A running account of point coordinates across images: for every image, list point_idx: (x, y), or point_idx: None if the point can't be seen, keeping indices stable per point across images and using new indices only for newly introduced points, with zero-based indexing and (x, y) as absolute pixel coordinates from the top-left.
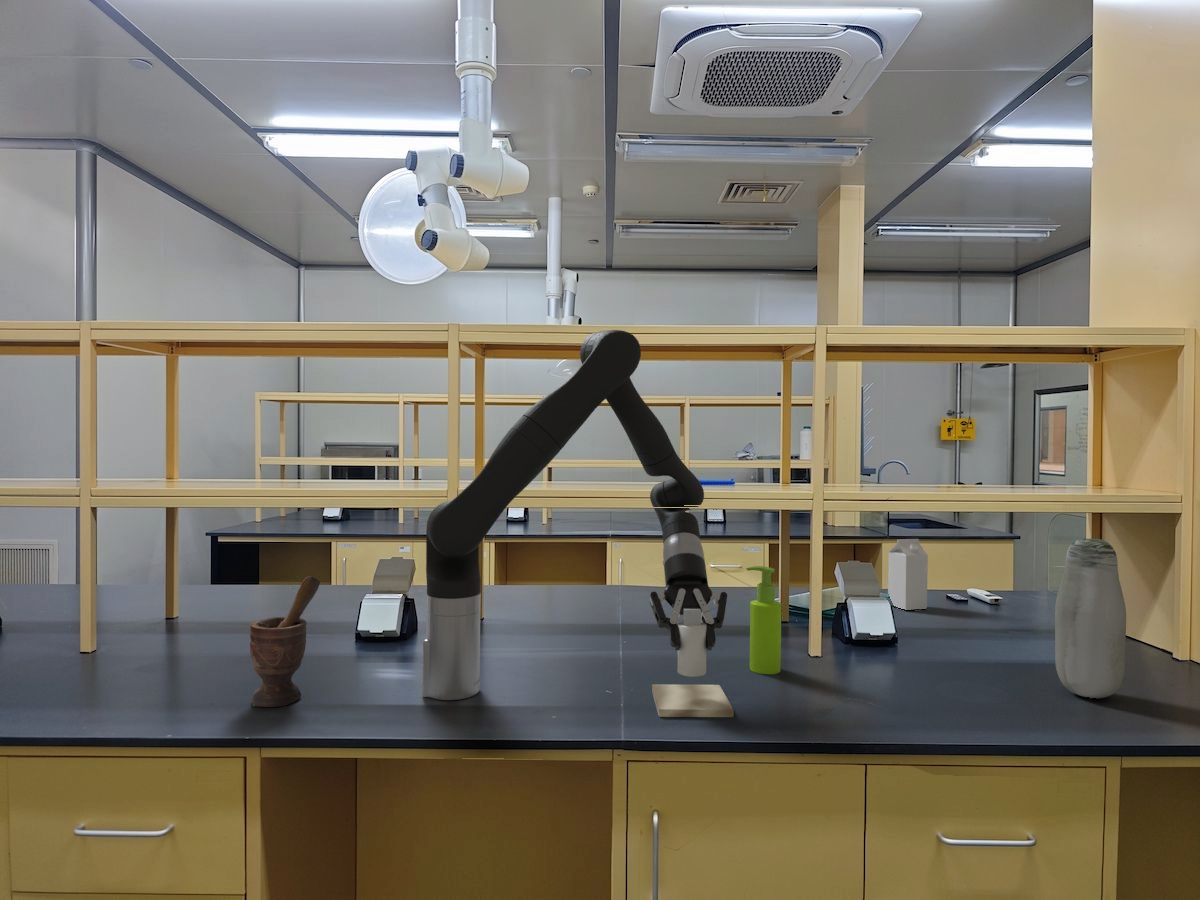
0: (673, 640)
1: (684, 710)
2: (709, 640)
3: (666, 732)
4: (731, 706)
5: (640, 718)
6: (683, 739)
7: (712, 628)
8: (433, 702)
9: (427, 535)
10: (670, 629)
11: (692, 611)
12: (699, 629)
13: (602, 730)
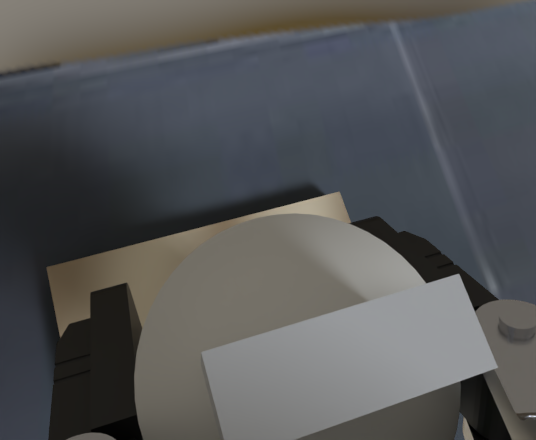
0: (407, 240)
1: (247, 217)
2: (114, 299)
3: (280, 86)
4: (54, 304)
5: (388, 173)
6: (220, 50)
7: (68, 432)
8: None
9: None
10: (487, 294)
11: (334, 316)
12: (203, 247)
13: (463, 60)
